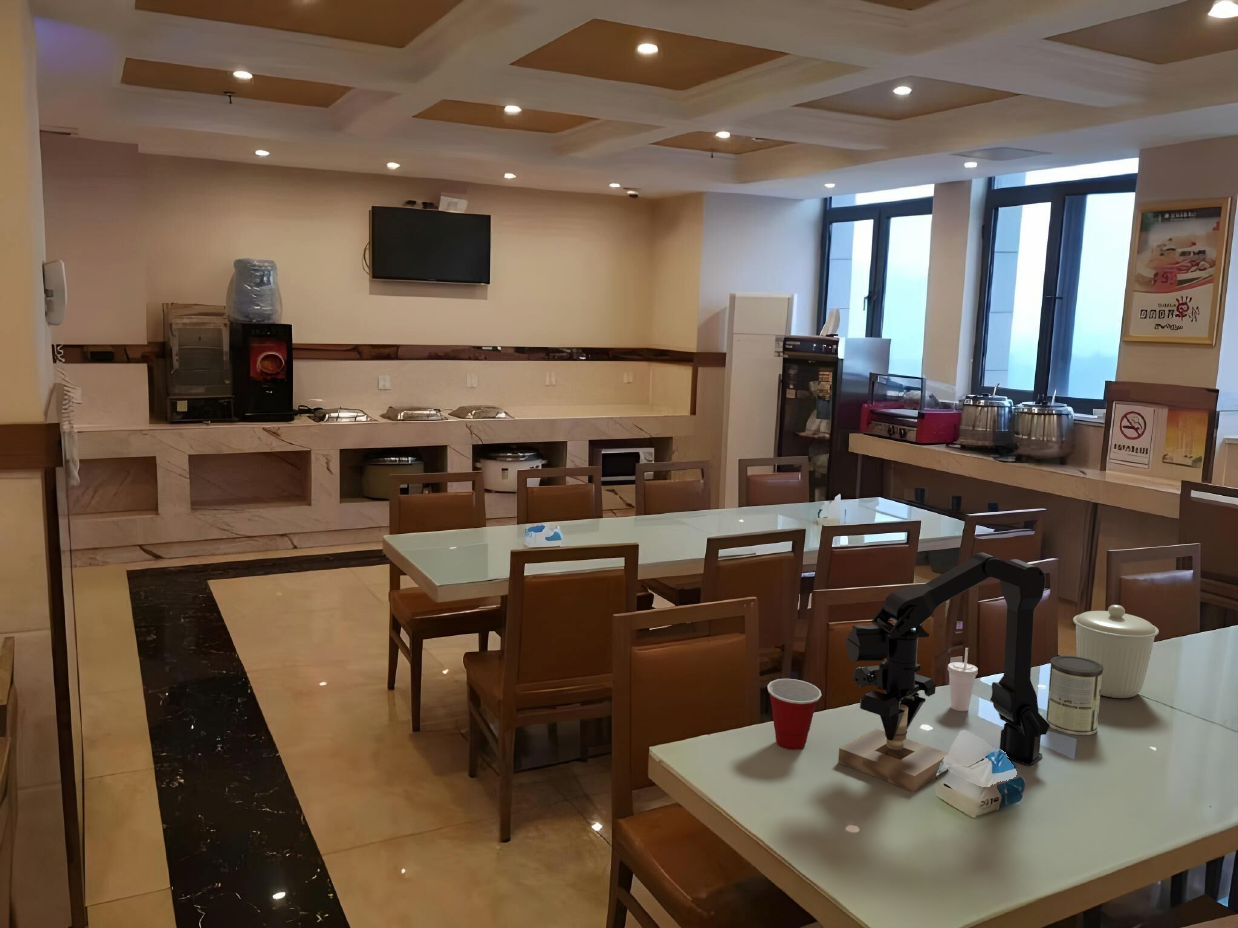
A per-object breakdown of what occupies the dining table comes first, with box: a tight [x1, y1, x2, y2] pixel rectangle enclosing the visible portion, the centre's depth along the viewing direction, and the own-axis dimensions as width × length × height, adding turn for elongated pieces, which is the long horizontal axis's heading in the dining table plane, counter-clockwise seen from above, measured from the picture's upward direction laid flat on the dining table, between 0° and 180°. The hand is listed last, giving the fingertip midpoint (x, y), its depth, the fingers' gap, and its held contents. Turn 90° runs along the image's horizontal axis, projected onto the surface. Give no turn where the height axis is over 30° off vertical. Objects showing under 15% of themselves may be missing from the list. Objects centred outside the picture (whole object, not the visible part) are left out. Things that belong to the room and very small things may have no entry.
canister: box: [1072, 604, 1160, 699], centre depth 228 cm, size 18×18×21 cm
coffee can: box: [1045, 655, 1104, 736], centre depth 207 cm, size 10×10×14 cm
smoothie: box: [947, 647, 979, 712], centre depth 216 cm, size 6×6×14 cm
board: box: [837, 728, 948, 792], centre depth 186 cm, size 16×14×3 cm
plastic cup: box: [767, 678, 822, 751], centre depth 194 cm, size 11×11×12 cm
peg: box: [885, 704, 908, 750], centre depth 186 cm, size 4×4×8 cm
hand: (895, 736), depth 186 cm, fingers closed on peg, 4 cm apart
